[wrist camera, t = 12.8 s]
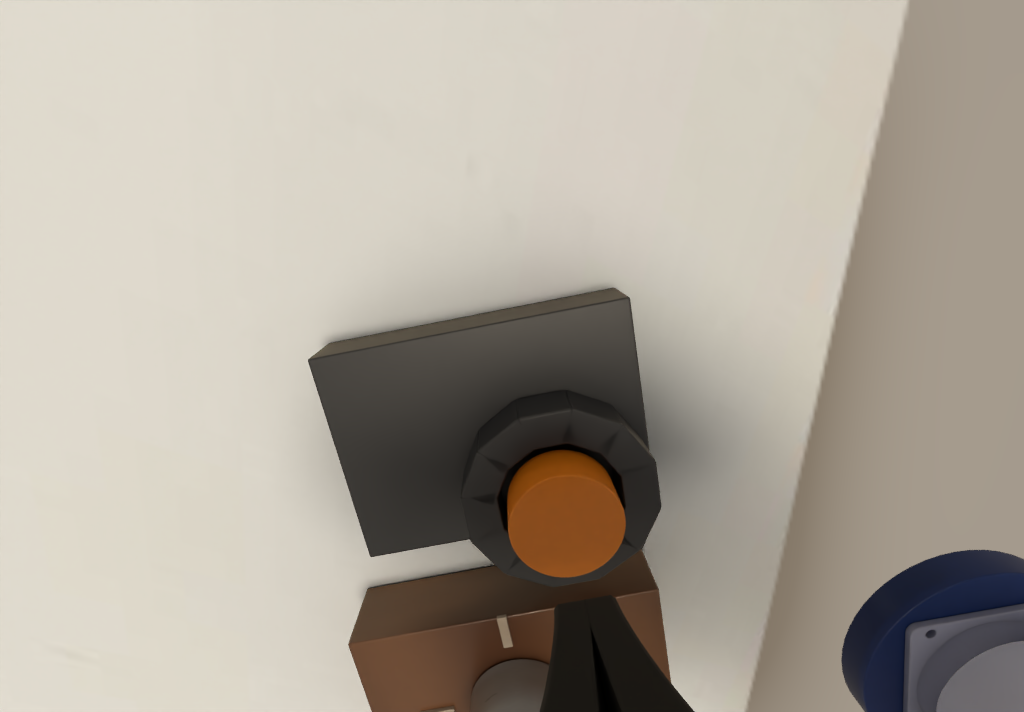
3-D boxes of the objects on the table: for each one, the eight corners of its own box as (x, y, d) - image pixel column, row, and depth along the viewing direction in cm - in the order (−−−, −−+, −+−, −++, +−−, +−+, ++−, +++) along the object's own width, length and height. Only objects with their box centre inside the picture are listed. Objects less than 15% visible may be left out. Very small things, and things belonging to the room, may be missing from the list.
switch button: (605, 439, 16) (618, 465, 15) (620, 533, 17) (633, 567, 16) (497, 459, 17) (497, 487, 15) (518, 551, 18) (520, 587, 16)
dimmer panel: (637, 537, 22) (659, 589, 19) (658, 682, 24) (681, 751, 21) (366, 586, 22) (345, 646, 19) (412, 725, 24) (399, 798, 21)
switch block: (615, 287, 19) (645, 306, 15) (644, 502, 21) (676, 565, 17) (327, 343, 19) (284, 376, 15) (390, 548, 22) (367, 621, 18)
